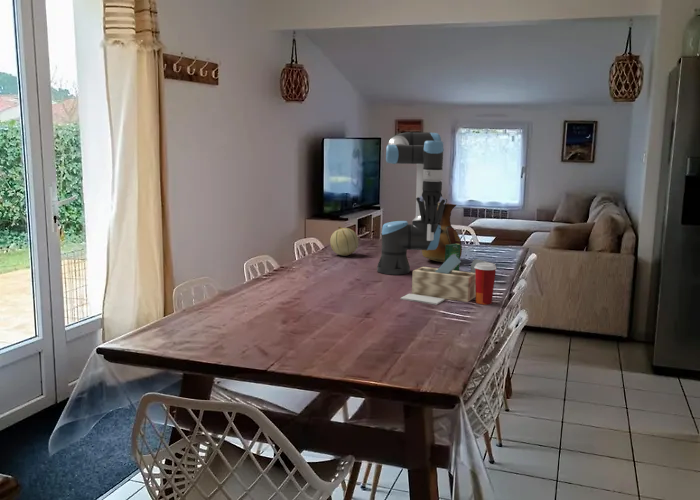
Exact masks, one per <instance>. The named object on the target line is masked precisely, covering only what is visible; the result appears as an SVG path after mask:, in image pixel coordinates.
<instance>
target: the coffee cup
mask: <svg viewBox="0 0 700 500" xmlns="http://www.w3.org/2000/svg"><path fill="white" fill-rule="evenodd" d="M474 268H475V285H476V297H475V304H477V305H483V306H484V305H485V306H487V305H491V304H492V303H493V296H494V287H495V280H496V270H497V267H496V264H495V263H492V262H489V263H477V264H476V265H475V267H474Z"/></svg>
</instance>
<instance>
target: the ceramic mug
mask: <svg viewBox="0 0 700 500" xmlns="http://www.w3.org/2000/svg"><path fill="white" fill-rule="evenodd" d="M477 263H490V262H489V261H486V260H481V259H477V258H476V259H473V260H472V262H471V265H470V272H471V273H475V268H474V267H475V265H476V264H477Z"/></svg>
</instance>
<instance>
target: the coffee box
mask: <svg viewBox="0 0 700 500" xmlns="http://www.w3.org/2000/svg"><path fill="white" fill-rule="evenodd" d="M461 244H462V243H461ZM461 244H448V245H446V248H445V261H446V260H447V259H448V258H449V257H450V256H451V255H453V254H455V255H456V257H457V258H458V259H459V260H460V261H461V257H460V248H461ZM460 263H461V262H460ZM460 263H459V264H458V265H457V266H456V267H455V268H454V271H460Z"/></svg>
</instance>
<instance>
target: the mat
mask: <svg viewBox="0 0 700 500" xmlns="http://www.w3.org/2000/svg"><path fill="white" fill-rule="evenodd" d="M400 300H402V301H403V300H404V301H410V302H415V303H423V304H429V305H436V306H437V305H439V304H441V303H442V302H444V301H445V300H446V299H443V298H436V297H429V296H423V295H416V294H412V293H407V294H406V295H404V296H401V297H400Z"/></svg>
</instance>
